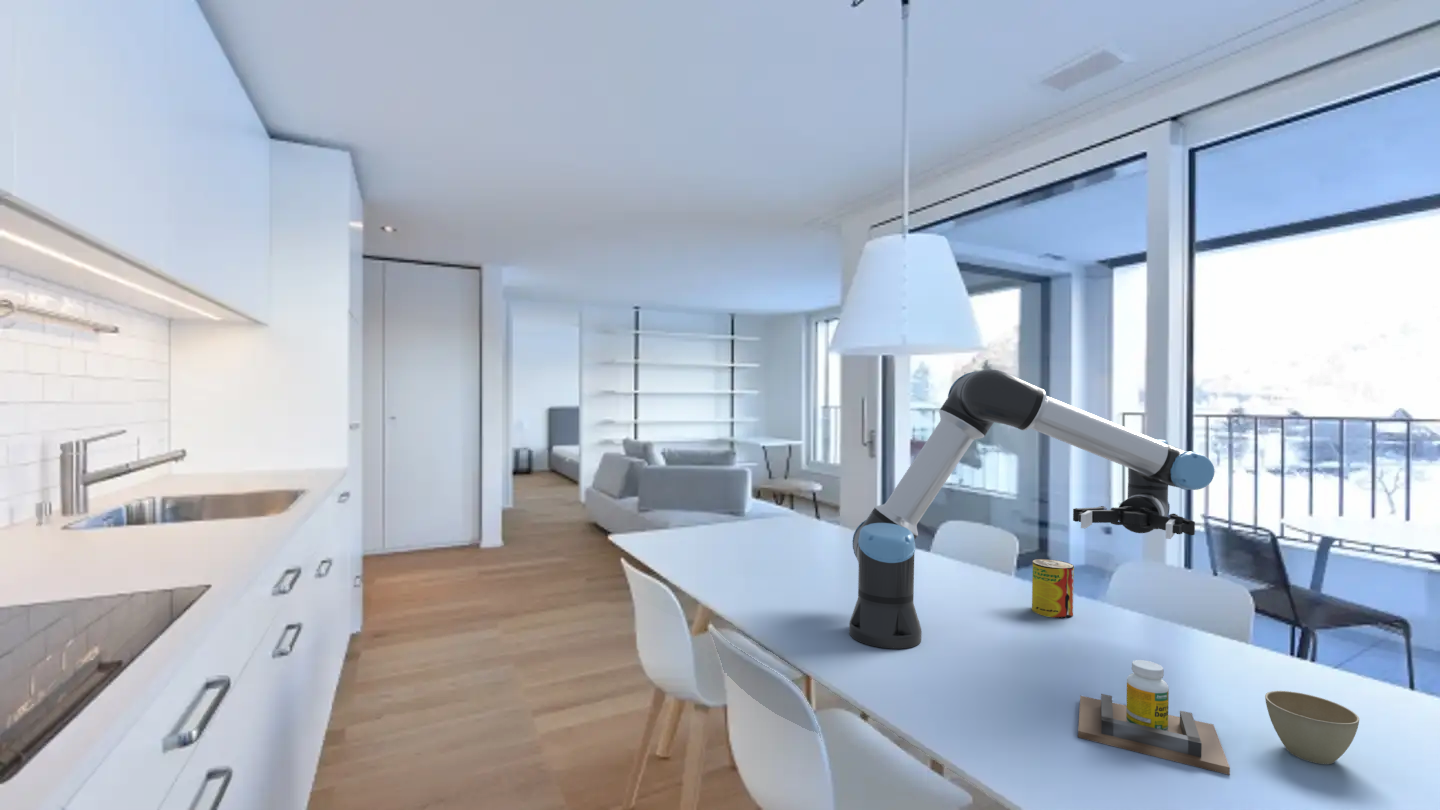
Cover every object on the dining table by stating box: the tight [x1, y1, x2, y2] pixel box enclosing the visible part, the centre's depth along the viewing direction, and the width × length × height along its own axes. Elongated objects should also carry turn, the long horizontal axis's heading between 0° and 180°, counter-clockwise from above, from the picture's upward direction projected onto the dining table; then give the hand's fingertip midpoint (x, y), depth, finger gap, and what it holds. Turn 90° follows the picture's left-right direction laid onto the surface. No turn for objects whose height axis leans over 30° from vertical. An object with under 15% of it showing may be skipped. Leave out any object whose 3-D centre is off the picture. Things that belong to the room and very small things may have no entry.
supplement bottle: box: [1126, 659, 1170, 731], centre depth 97 cm, size 5×5×10 cm
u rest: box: [1077, 693, 1231, 776], centre depth 97 cm, size 18×14×3 cm
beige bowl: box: [1264, 690, 1360, 765], centre depth 92 cm, size 10×10×7 cm
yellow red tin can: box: [1031, 558, 1075, 619], centre depth 156 cm, size 9×9×12 cm
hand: (1124, 526), depth 119 cm, fingers open, 13 cm apart
